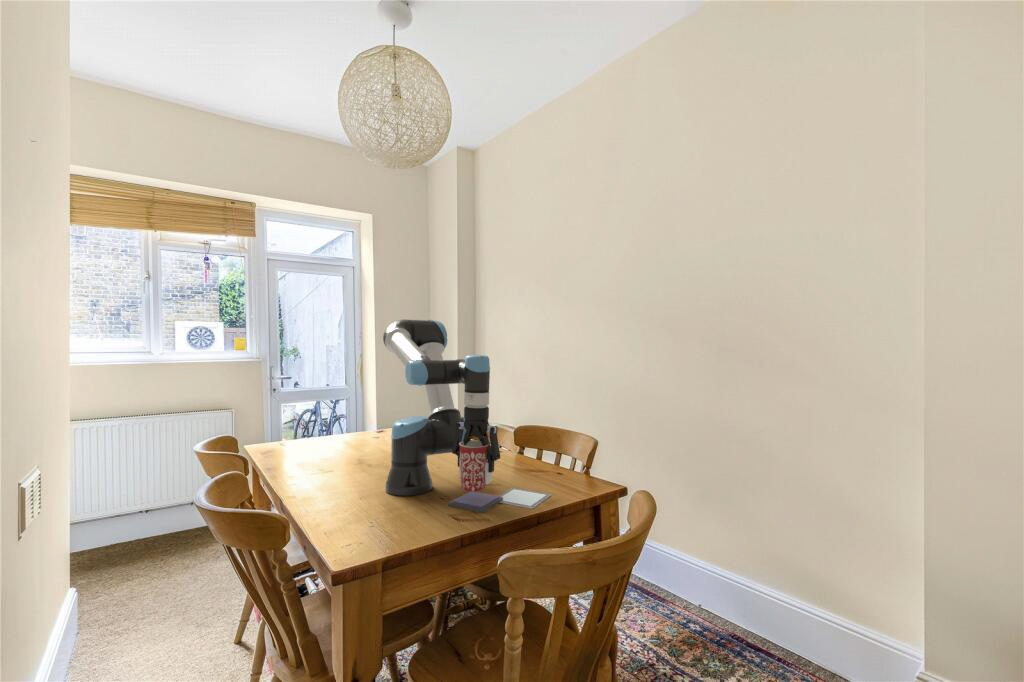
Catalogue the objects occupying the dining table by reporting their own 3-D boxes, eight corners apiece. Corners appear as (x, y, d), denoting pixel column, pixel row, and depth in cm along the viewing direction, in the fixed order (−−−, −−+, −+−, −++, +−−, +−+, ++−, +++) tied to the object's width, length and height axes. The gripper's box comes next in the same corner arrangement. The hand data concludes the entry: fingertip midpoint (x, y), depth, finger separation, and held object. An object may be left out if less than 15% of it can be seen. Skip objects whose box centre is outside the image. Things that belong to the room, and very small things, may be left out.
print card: (491, 501, 142) (491, 499, 142) (512, 488, 155) (512, 487, 155) (532, 508, 136) (532, 507, 136) (551, 495, 148) (551, 494, 148)
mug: (488, 492, 135) (489, 446, 135) (457, 492, 135) (458, 446, 134) (488, 479, 148) (489, 437, 147) (460, 479, 147) (460, 437, 147)
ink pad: (448, 505, 138) (448, 501, 138) (470, 494, 148) (470, 490, 148) (482, 513, 132) (482, 508, 132) (502, 500, 143) (502, 496, 143)
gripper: (440, 404, 142) (439, 477, 142) (501, 410, 132) (499, 489, 132) (455, 401, 149) (453, 471, 149) (513, 407, 139) (512, 482, 139)
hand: (475, 480), depth 141 cm, fingers closed on mug, 8 cm apart
